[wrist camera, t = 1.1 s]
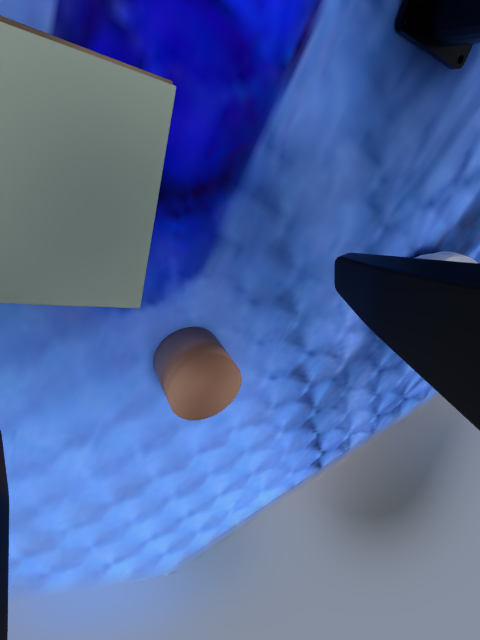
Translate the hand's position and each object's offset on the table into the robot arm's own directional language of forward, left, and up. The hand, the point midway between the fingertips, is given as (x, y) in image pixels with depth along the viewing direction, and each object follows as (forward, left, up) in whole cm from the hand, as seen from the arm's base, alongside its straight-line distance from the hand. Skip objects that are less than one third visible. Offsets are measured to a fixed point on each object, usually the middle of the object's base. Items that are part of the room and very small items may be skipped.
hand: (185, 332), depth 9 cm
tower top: (+3, -1, -11) cm, 11 cm away
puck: (-7, +10, -13) cm, 18 cm away
